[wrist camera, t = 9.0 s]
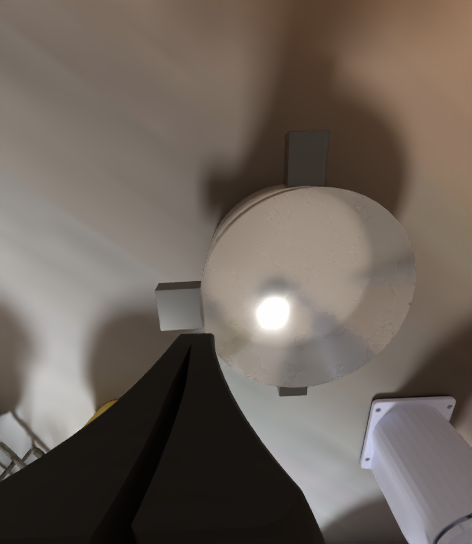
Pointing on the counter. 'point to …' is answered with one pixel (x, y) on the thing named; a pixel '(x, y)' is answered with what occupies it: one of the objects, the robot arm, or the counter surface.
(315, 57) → the counter surface
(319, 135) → the cooker pot
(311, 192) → the cooker lid
